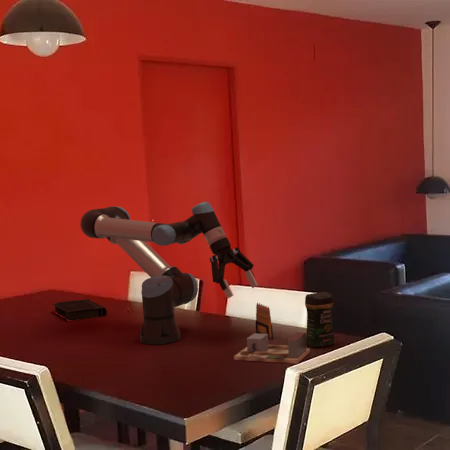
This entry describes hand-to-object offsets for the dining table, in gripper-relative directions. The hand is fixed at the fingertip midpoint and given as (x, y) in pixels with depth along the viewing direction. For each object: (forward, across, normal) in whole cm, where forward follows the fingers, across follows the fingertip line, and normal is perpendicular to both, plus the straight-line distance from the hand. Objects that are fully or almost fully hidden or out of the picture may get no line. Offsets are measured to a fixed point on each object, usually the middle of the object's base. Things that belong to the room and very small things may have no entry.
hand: (243, 291), depth 273 cm
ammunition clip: (+18, +4, +5) cm, 19 cm away
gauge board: (+25, -15, -14) cm, 33 cm away
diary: (-28, -10, +92) cm, 96 cm away
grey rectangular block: (+22, -19, -12) cm, 31 cm away
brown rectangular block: (+28, -12, -22) cm, 38 cm away
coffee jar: (+29, +5, -18) cm, 35 cm away
